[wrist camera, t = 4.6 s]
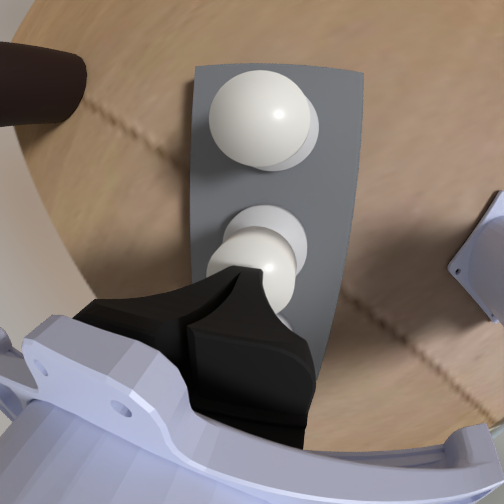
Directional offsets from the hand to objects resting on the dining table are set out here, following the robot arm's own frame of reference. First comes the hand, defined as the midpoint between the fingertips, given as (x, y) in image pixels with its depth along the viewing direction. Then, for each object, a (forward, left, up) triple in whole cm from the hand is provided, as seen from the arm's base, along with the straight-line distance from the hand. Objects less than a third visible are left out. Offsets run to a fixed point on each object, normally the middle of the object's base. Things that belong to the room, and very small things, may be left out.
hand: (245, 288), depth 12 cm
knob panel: (0, 0, -8) cm, 8 cm away
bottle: (+23, -1, -8) cm, 24 cm away
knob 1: (+4, -6, -3) cm, 7 cm away
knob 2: (0, 0, -3) cm, 3 cm away
